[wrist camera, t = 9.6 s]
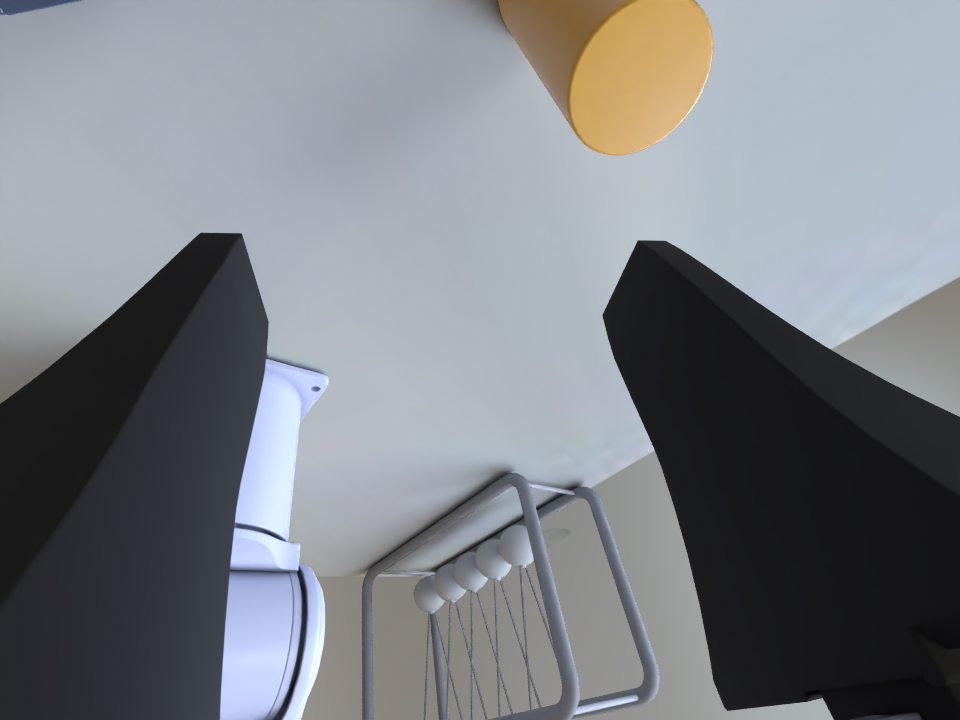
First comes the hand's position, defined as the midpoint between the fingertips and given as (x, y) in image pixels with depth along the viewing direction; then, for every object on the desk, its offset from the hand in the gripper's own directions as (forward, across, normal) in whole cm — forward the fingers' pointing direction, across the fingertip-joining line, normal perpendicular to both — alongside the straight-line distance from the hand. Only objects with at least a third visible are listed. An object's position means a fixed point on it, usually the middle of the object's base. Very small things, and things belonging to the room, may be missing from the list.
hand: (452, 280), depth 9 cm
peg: (+10, -4, -3) cm, 11 cm away
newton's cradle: (+11, -7, +45) cm, 47 cm away
